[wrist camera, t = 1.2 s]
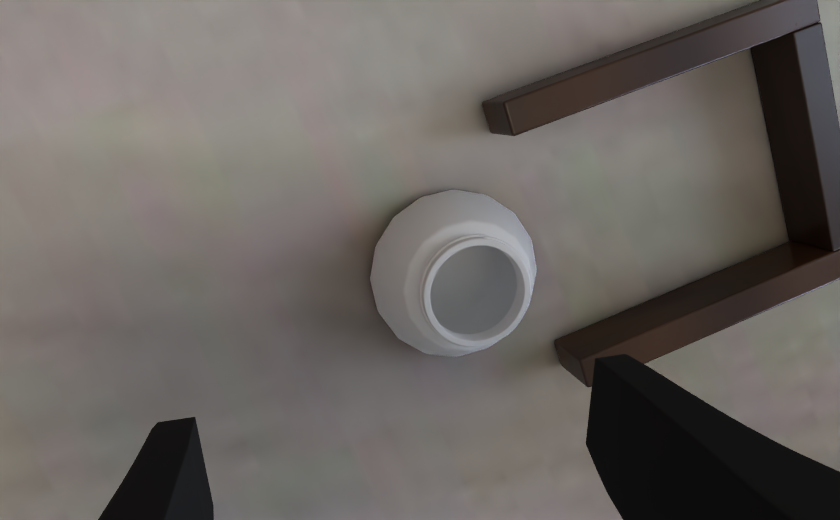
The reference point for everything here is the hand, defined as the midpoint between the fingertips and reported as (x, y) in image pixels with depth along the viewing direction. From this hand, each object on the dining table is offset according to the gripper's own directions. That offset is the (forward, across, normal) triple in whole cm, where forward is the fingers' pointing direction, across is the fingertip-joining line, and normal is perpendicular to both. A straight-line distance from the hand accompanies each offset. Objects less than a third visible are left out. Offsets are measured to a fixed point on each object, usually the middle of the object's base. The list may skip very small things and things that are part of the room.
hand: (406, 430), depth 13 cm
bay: (+10, -10, 0) cm, 14 cm away
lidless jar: (+10, -3, +2) cm, 10 cm away
